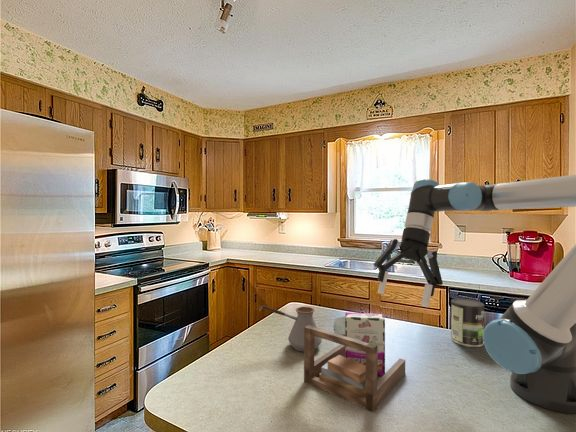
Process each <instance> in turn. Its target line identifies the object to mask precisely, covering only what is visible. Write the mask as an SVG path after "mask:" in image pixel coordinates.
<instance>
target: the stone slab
mask: <svg viewBox="0 0 576 432" xmlns="http://www.w3.org/2000/svg"><path fill="white" fill-rule="evenodd" d="M333 330H334V332H333V333H336V334H339V335H343V336H345V315H344V316H342V317H341V316H340V317H338V318H336V319H334V323H333Z"/></svg>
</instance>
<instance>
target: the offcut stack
mask: <svg viewBox="0 0 576 432" xmlns="http://www.w3.org/2000/svg"><path fill="white" fill-rule="evenodd" d="M318 378H320V379H323V380H325V381H327V382H330V383H332V384H335V385H337V386H339V387H342V388H344V389H347V390H349V391H351V392H354V393H356V394H359V395H361V396H363V397H365V385H366V366H365V365H363V364H360V363H358V362H355V361H353V360H350V359H348V358H346V357H343V356H341V355H338V356H336V357H334V358H332V359H331V360H329V361H328V362H327V363H326V364H325V365H323V366H322V367H321V373H320V374H319V377H318Z"/></svg>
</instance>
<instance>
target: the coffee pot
mask: <svg viewBox="0 0 576 432" xmlns="http://www.w3.org/2000/svg"><path fill="white" fill-rule="evenodd" d="M262 309H265V310H266V311H270V312H272V313H274V314H277V315H280V316H284V317H287V318H289V319H292V320H295V321H294V323H293V326H292V327H291V330H290V332H289V334H288V338H287V340H288V342H289V344H290V346H292V347H293V348H294V349H295V350H297V351H298V352H303V353H304V327H306V326H308V325H310V326H313V327H316V328H318V326H317V323H316V320H315V317H314V312H315V308H313V307H310V306H298V307H297V308H295V312H296V313H297V316H293V315H290V314H287V313H285V312H283V311H281V310H278V309H276V308H272V307H269V306H266V305H263V304H262V305H260V307H259V312H261V311H262ZM322 341H323V338H319V337H316V336H314V351H315V350H317V348H318V347H319V346H320V345H321V343H322Z"/></svg>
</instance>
